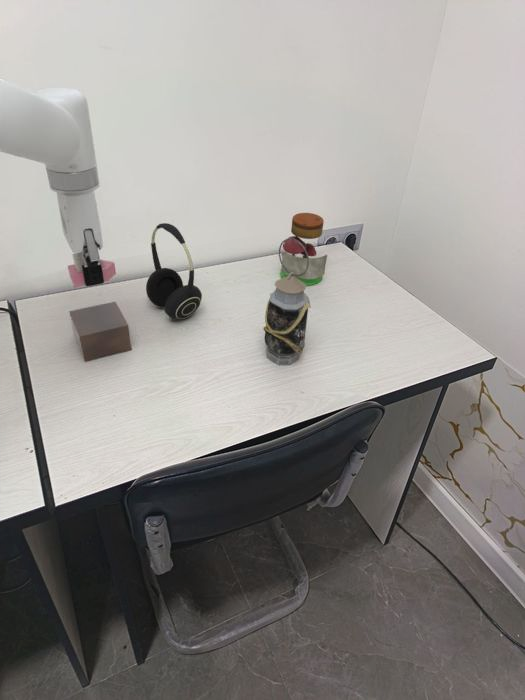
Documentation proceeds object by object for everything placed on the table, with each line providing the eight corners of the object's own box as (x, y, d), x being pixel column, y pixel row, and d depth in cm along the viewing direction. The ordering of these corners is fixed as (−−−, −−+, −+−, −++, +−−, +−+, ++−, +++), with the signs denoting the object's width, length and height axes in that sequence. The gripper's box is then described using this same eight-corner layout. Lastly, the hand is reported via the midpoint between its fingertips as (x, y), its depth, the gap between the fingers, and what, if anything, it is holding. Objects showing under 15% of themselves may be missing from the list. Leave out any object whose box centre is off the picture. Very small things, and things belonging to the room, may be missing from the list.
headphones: (172, 290, 115) (167, 208, 103) (211, 320, 107) (210, 234, 94) (140, 302, 110) (130, 217, 98) (177, 334, 102) (172, 245, 90)
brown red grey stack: (270, 264, 128) (274, 209, 118) (317, 263, 130) (325, 208, 121) (279, 288, 119) (285, 230, 109) (329, 286, 121) (339, 229, 112)
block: (84, 362, 93) (79, 336, 90) (74, 335, 99) (69, 311, 96) (131, 350, 97) (128, 325, 93) (118, 325, 103) (115, 301, 99)
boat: (74, 287, 87) (69, 263, 84) (69, 277, 89) (64, 253, 86) (118, 278, 90) (115, 254, 87) (113, 269, 92) (109, 245, 89)
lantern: (311, 356, 99) (330, 241, 83) (285, 374, 94) (299, 256, 79) (279, 337, 103) (291, 224, 88) (252, 353, 98) (259, 237, 83)
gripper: (39, 162, 82) (60, 261, 93) (58, 199, 71) (80, 306, 82) (85, 158, 85) (101, 254, 96) (111, 192, 74) (125, 296, 85)
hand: (91, 277), depth 89 cm, fingers closed on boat, 3 cm apart
